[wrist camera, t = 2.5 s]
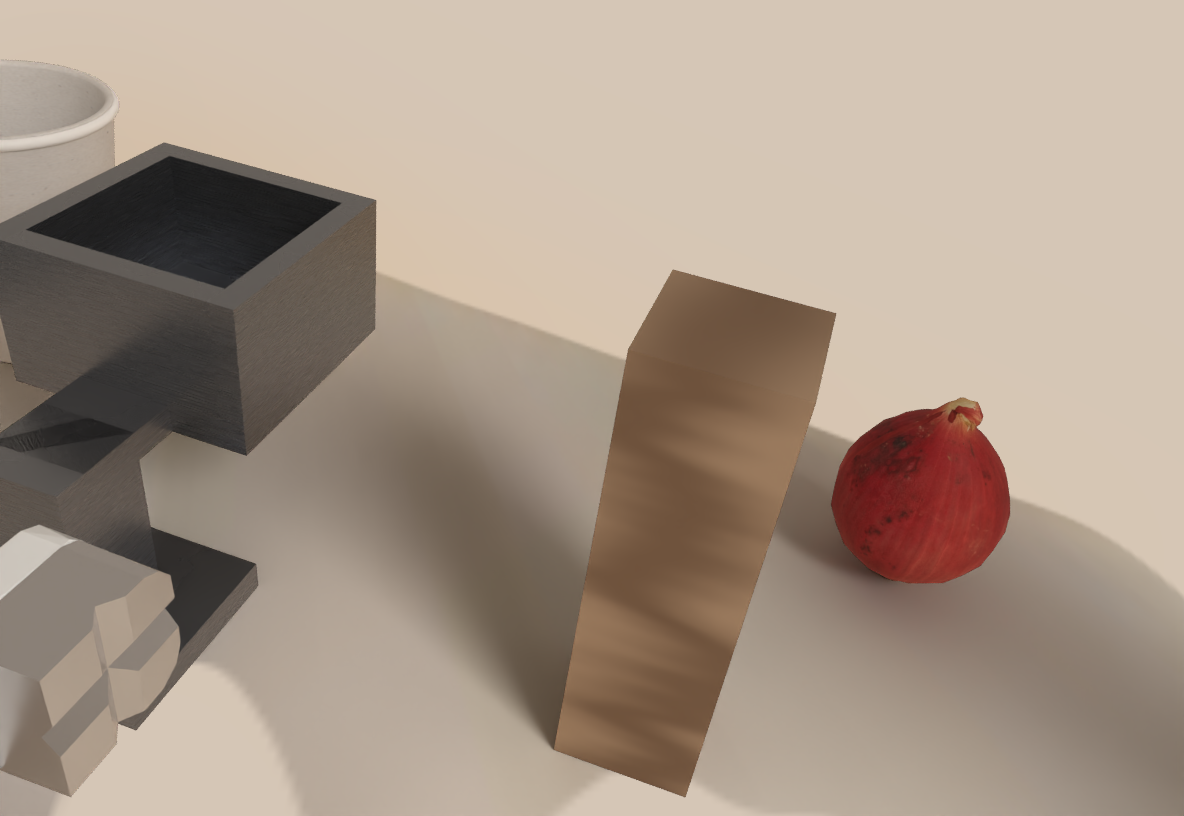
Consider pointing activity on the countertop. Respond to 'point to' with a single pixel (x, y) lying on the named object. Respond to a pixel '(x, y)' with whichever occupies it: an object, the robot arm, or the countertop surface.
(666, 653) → the rail post
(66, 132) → the dixie cup
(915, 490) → the onion
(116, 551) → the box
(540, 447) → the countertop surface
